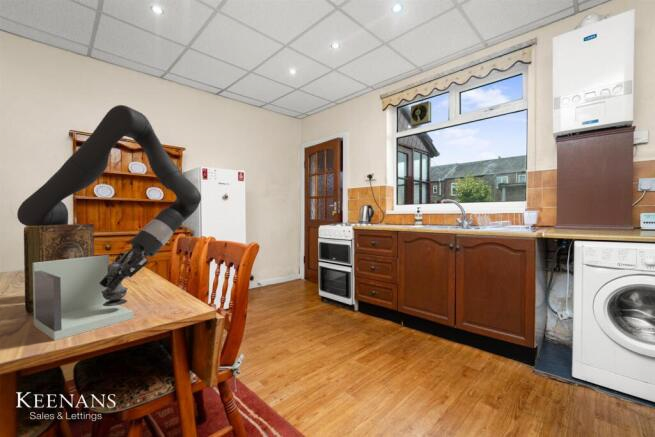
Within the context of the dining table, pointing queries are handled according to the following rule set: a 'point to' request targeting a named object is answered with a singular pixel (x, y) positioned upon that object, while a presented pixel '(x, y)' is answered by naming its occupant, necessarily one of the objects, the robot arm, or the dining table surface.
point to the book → (54, 249)
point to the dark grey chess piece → (118, 291)
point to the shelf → (73, 297)
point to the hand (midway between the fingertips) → (106, 286)
